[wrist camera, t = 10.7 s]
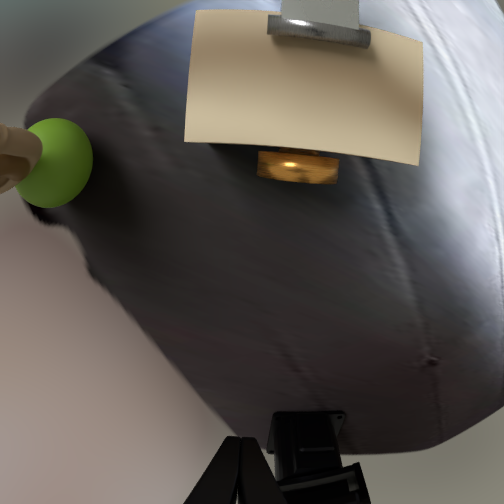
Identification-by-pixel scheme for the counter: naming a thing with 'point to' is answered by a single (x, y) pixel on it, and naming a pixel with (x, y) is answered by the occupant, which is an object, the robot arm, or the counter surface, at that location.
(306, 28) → the bar
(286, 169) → the pin
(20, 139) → the snail figurine
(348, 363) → the counter surface
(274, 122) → the block
